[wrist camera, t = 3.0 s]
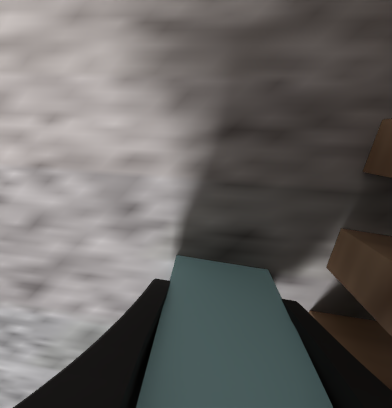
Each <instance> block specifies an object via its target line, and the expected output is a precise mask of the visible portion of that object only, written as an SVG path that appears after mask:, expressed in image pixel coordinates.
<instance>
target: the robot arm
mask: <svg viewBox="0 0 392 408" xmlns="http://www.w3.org/2000/svg"><path fill="white" fill-rule="evenodd" d="M169 285H170V281H167V280H161V279H154V280H153V281H152V282H151V283H150V285H149V286H148V287H147V289H146V290H145V291H144V292H143V294H142V295H141V296H140V297H139V298H138V299H137V301H136V302H135V303H134V304H133V305H132V306H131V307H130V308H129V309H128V310H127V311H126V313H125V314H124V315H123V316H122V317H121V318H120V319H119V320H118V321H117V322H116V323H115V324H114V325H113V326H112V327H111V328H110V329H109V330H108V331H106V332H105V333H104V334H103V335H102V336H101V337H100V338H99V339H98V340H97V341H96V342H95V343H94V344H93V345H91V346H90V347H89V348H88V349H87V350H86V351H85V352H84V353H82V354H81V355H80V356H79V357H78V358H76V359H75V360H74V361H73V362H72V363H71V364H69V365H68V366H67V367H66V368H64V369H63V370H62V371H61V372H59V373H58V374H57V375H56V376H54V377H53V378H52V379H50V380H49V381H48V382H47V383H45V384H44V385H43V386H42V387H40V388H39V389H38V390H36V391H35V392H34V393H32V394H31V395H30V396H28V397H27V398H26V399H24V400H23V401H22V402H20V403H19V404H17V405H16V406H15V407H13V408H136V406H137V402H138V398H139V394H140V391H141V387H142V383H143V379H144V376H145V372H146V368H147V364H148V361H149V357H150V353H151V349H152V346H153V342H154V338H155V334H156V331H157V327H158V323H159V319H160V316H161V312H162V308H163V305H164V303H165V300H166V297H167V293H168V289H169ZM281 300H282V302H283V304H284V306H285V308H286V311H287V313H288V315H289V317H290V319H291V321H292V323H293V324H294V326H295V328H296V330H297V332H298V334H299V336H300V338H301V340H302V342H303V345H304V347H305V349H306V351H307V353H308V355H309V357H310V359H311V361H312V364H313V366H314V368H315V370H316V372H317V374H318V376H319V378H320V380H321V383H322V385H323V387H324V389H325V391H326V393H327V395H328V397H329V400H330V402H331V404H332V406H333V408H392V390H390V389H389V388H388V387H387V386H386V385H385V384H384V383H383V382H381V381H380V380H379V379H378V378H377V377H376V376H375V375H374V374H372V373H371V372H370V371H369V370H368V369H367V368H366V367H365V366H364V365H363V364H361V363H360V362H359V361H358V360H357V359H356V358H355V357H354V356H353V355H352V354H351V353H350V352H349V351H348V350H347V349H345V348H344V347H343V346H342V345H341V344H340V343H339V342H338V341H337V340H336V339H335V338H334V337H333V336H332V335H331V334H330V333H329V332H328V331H327V330H326V329H325V328H324V327H323V326H322V325H321V324H320V323H319V322H318V321H317V320H316V319H315V318H314V317H313V316H312V315H311V314H310V313H308V312H307V311H306V310H305V309H304V308H303V307H302V306H301V305H300V304H299V303H298V302H297V301H292V300H285V299H281Z"/></svg>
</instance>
